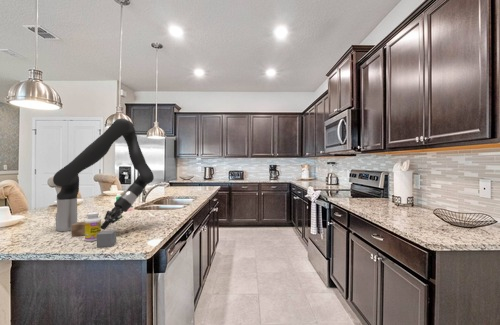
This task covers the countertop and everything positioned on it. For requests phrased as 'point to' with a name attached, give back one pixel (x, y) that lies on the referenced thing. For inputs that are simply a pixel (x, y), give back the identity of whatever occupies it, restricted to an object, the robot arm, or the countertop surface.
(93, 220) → the supplement bottle
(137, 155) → the robot arm
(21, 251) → the countertop surface
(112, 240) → the charcoal block
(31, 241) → the countertop surface
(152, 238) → the countertop surface
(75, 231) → the walnut block
